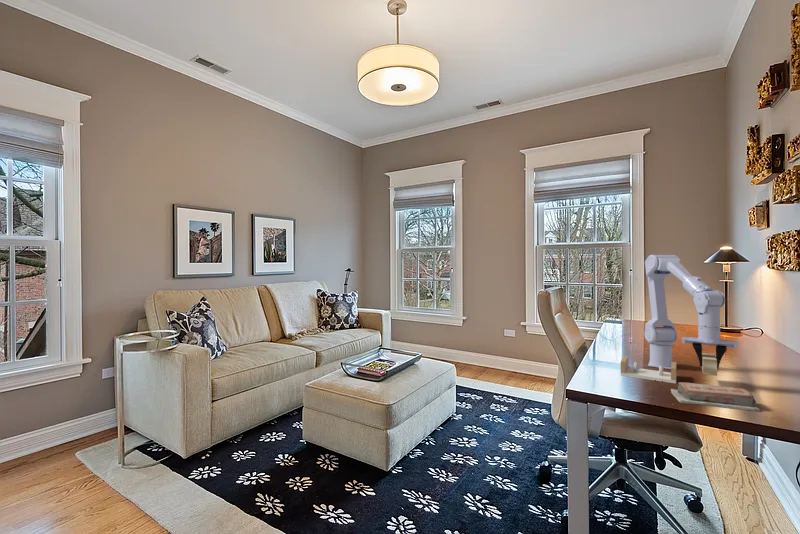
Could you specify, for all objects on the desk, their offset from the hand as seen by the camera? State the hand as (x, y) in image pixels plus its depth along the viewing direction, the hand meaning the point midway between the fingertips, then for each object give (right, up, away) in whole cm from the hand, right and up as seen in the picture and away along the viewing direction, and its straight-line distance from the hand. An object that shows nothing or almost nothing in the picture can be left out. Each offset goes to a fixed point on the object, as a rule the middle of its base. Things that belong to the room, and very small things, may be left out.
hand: (708, 366), depth 127 cm
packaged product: (-13, -6, -17) cm, 22 cm away
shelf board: (0, -2, 0) cm, 2 cm away
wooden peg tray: (-14, -6, +9) cm, 18 cm away
